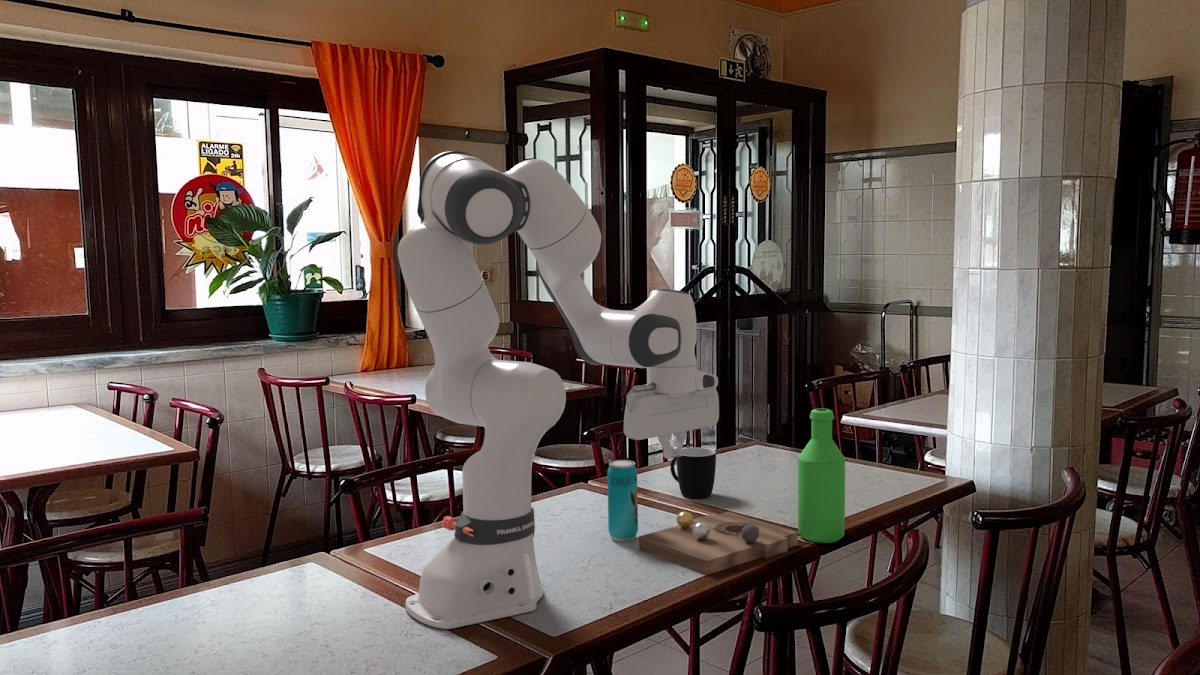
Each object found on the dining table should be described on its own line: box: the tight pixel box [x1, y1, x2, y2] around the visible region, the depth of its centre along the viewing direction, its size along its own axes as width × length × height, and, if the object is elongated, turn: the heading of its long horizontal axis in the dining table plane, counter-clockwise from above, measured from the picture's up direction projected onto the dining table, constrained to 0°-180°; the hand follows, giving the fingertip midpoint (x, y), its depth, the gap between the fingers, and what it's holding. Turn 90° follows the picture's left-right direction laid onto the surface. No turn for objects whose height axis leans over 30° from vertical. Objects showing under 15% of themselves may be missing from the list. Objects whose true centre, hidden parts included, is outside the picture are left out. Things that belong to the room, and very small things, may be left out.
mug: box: [669, 447, 717, 500], centre depth 209 cm, size 12×9×10 cm
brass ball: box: [676, 510, 694, 528], centre depth 177 cm, size 3×3×3 cm
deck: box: [638, 511, 799, 576], centre depth 173 cm, size 24×20×2 cm
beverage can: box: [606, 459, 639, 543], centre depth 178 cm, size 6×6×15 cm
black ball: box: [741, 525, 759, 543], centre depth 167 cm, size 3×3×3 cm
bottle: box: [797, 408, 846, 544], centre depth 176 cm, size 9×9×25 cm
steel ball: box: [693, 522, 710, 540], centre depth 170 cm, size 3×3×3 cm
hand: (672, 457), depth 164 cm, fingers closed
